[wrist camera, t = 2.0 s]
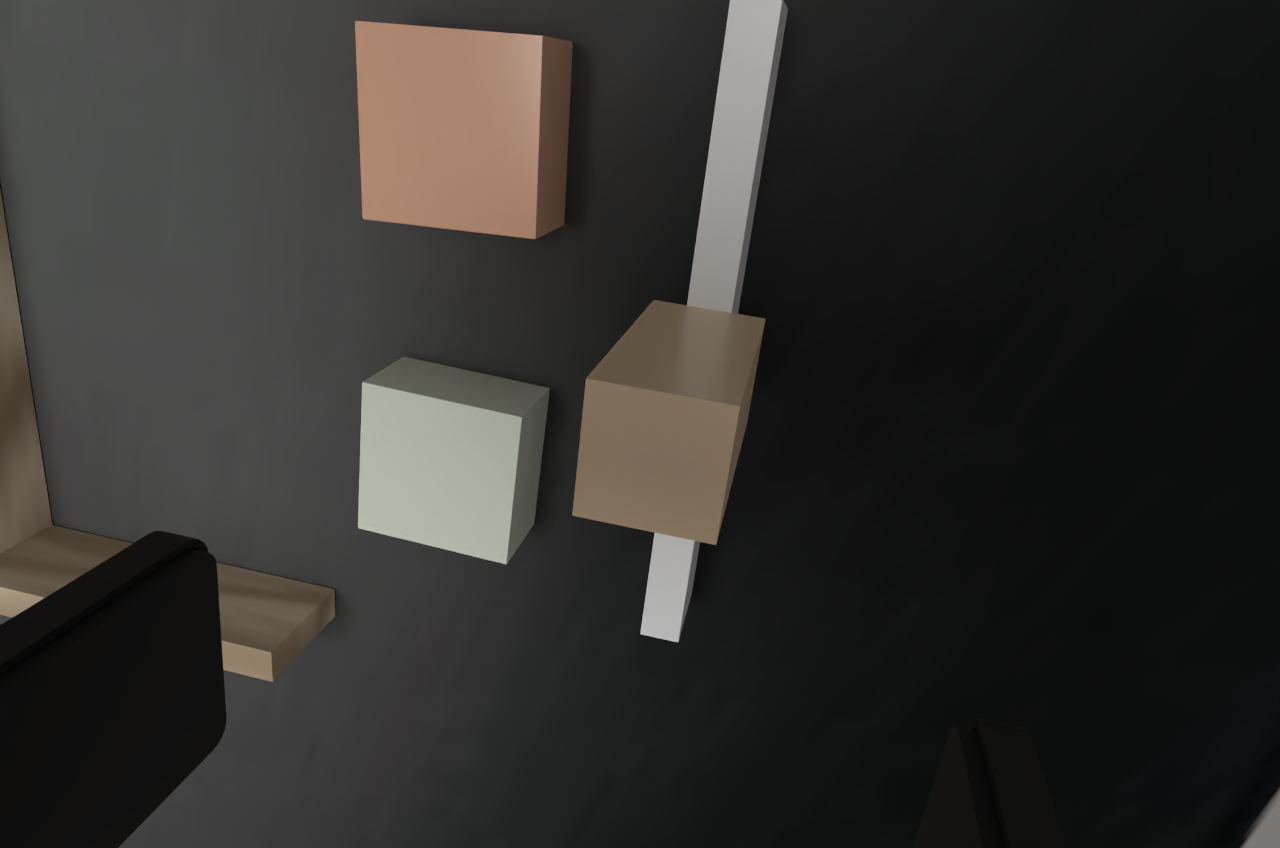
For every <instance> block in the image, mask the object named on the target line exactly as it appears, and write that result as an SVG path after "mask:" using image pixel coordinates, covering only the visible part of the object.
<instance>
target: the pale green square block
mask: <svg viewBox="0 0 1280 848" xmlns="http://www.w3.org/2000/svg"><path fill="white" fill-rule="evenodd" d="M549 392H550V388H547V387H543V386H538V385H533V384H529V383H524V382H520V381H515V380H510V379H506V378H501V377H496V376H492V375H487V374H482V373H478V372H473V371H469V370H464V369H459V368H455V367H450V366H445V365H441V364H436V363H431V362H427V361H422V360H418V359H413V358H408V357H403V358H401V359H399V360H398V361H396V362H394V363H393V364H391V365H389V366H388V367H386V368H385V369H383V370H381V371H380V372H378V373H376V374H375V375H373V376H372V377H370V378H368V379H367V380H365V381H363V382H362V408H361V442H360V476H359V510H358V528H360V529H364V530H368V531H372V532H376V533H380V534H384V535H388V536H392V537H397V538H401V539H405V540H409V541H413V542H417V543H421V544H425V545H429V546H433V547H437V548H441V549H446V550H450V551H454V552H458V553H462V554H466V555H470V556H474V557H478V558H482V559H486V560H490V561H495V562H499V563H503V564H507V563H508V561H509V560H510V558H511V557H512V555H513V554H514V553H515V551H516V550H517V548H518V547H519V545H520V544H521V542H522V541H523V540H524V538H525V537H526V535H527V534H528V532H529V531H530V529H531V528H532V526H533V525H534V520H535V512H536V503H537V495H538V486H539V478H540V469H541V460H542V452H543V443H544V435H545V426H546V418H547V409H548V401H549Z"/></svg>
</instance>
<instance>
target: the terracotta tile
mask: <svg viewBox="0 0 1280 848" xmlns="http://www.w3.org/2000/svg"><path fill="white" fill-rule="evenodd" d="M355 35H356V60H357V86H358V111H359V137H360V163H361V188H362V214H363V219H368V220H376V221H385V222H393V223H402V224H410V225H419V226H427V227H436V228H444V229H453V230H461V231H470V232H478V233H487V234H495V235H504V236H512V237H521V238H529V239H537V238H539V237H541V236H543V235H545V234H547V233H549V232H551V231H553V230H555V229H557V228H559V227H561V226H563V225H564V220H565V199H566V178H567V156H568V135H569V114H570V92H571V71H572V50H573V42H572V41H567V40H562V39H557V38H552V37H547V36H540V35H527V34H515V33H502V32H489V31H477V30H464V29H452V28H439V27H426V26H414V25H401V24H388V23H376V22H363V21H355Z"/></svg>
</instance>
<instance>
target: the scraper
mask: <svg viewBox="0 0 1280 848" xmlns="http://www.w3.org/2000/svg"><path fill="white" fill-rule="evenodd" d="M787 13H788V8H787V6H786V4H785V2H784V0H730V5H729V12H728V19H727V26H726V33H725V40H724V47H723V54H722V61H721V68H720V75H719V82H718V90H717V97H716V104H715V111H714V118H713V125H712V132H711V139H710V146H709V153H708V160H707V167H706V174H705V181H704V188H703V195H702V202H701V209H700V216H699V224H698V231H697V238H696V245H695V252H694V259H693V266H692V273H691V280H690V287H689V294H688V301H687V305H681V304H675V303H669V302H663V301H657V300H653V301H652V303H651V304H650V305H649V306H648V307H647V308H646V310H645V311H644V312H643V313H642V314H641V315H640V316H639V318H638V319H637V320H636V321H635V322H634V323H633V325H632V326H631V327H630V328H629V329H628V330H627V332H626V333H625V334H624V335H623V336H622V337H621V338H620V340H619V341H618V342H617V343H616V344H615V345H614V347H613V348H612V349H611V350H610V351H609V352H608V354H607V355H606V356H605V357H604V358H603V359H602V361H601V362H600V363H599V364H598V365H597V366H596V367H595V369H594V370H593V371H592V372H591V373H590V374H589V376H588V377H587V378H586V384H585V394H584V404H583V414H582V424H581V434H580V444H579V454H578V464H577V474H576V484H575V494H574V504H573V514H572V516H577V517H582V518H587V519H592V520H596V521H601V522H606V523H611V524H616V525H621V526H626V527H630V528H635V529H640V530H645V531H650V532H655V534H654V541H653V548H652V555H651V562H650V569H649V576H648V583H647V590H646V597H645V604H644V611H643V619H642V626H641V633H640V634H642V635H647V636H651V637H656V638H660V639H665V640H669V641H674V642H678V641H679V638H680V634H681V630H682V627H683V623H684V620H685V616H686V613H687V609H688V605H689V602H690V598H691V595H692V589H693V582H694V576H695V570H696V564H697V558H698V552H699V546H700V542H703V543H708V544H713V545H716V544H717V540H718V536H719V532H720V528H721V524H722V520H723V516H724V512H725V508H726V504H727V500H728V496H729V492H730V488H731V485H732V481H733V477H734V473H735V469H736V465H737V461H738V457H739V453H740V449H741V445H742V441H743V437H744V433H745V429H746V425H747V420H748V415H749V409H750V404H751V398H752V392H753V387H754V381H755V375H756V370H757V364H758V359H759V353H760V347H761V342H762V336H763V330H764V325H765V319H766V318H760V317H754V316H748V315H742V314H738V310H739V304H740V298H741V292H742V286H743V280H744V273H745V267H746V261H747V255H748V249H749V243H750V237H751V231H752V225H753V219H754V213H755V207H756V201H757V195H758V189H759V183H760V177H761V170H762V164H763V158H764V152H765V146H766V140H767V134H768V128H769V122H770V116H771V110H772V104H773V98H774V92H775V86H776V80H777V74H778V67H779V61H780V55H781V49H782V43H783V37H784V31H785V25H786V19H787Z"/></svg>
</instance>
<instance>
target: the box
mask: <svg viewBox="0 0 1280 848" xmlns="http://www.w3.org/2000/svg"><path fill="white" fill-rule="evenodd" d="M132 544H133V543H129V542H125V541H120V540H116V539H112V538H107V537H103V536H99V535H94V534H90V533H85V532H81V531H77V530H72V529H68V528H63V527H59V526H55V525H52V519H51V512H50V506H49V499H48V493H47V487H46V480H45V474H44V467H43V461H42V454H41V448H40V441H39V435H38V428H37V422H36V415H35V409H34V403H33V396H32V390H31V383H30V377H29V370H28V364H27V357H26V351H25V344H24V338H23V331H22V325H21V319H20V312H19V306H18V299H17V293H16V286H15V280H14V273H13V267H12V260H11V254H10V247H9V241H8V234H7V228H6V222H5V215H4V209H3V202H2V196H1V189H0V615H4V616H8V617H12V618H13V617H14V616H16V615H18V614H19V613H21V612H22V611H24V610H26V609H27V608H29V607H31V606H32V605H34V604H35V603H37V602H39V601H40V600H42V599H44V598H45V597H47V596H49V595H50V594H52V593H53V592H55V591H57V590H58V589H60V588H62V587H63V586H65V585H66V584H68V583H70V582H71V581H73V580H75V579H76V578H78V577H79V576H81V575H83V574H84V573H86V572H88V571H89V570H91V569H92V568H94V567H96V566H97V565H99V564H101V563H102V562H104V561H106V560H107V559H109V558H110V557H112V556H114V555H115V554H117V553H119V552H120V551H122V550H123V549H125V548H127V547H128V546H130V545H132ZM216 564H217V575H218V591H219V607H220V624H221V640H222V656H223V670H227V671H231V672H235V673H239V674H243V675H247V676H251V677H255V678H259V679H263V680H267V681H271V682H273V681H274V680H275V679H276V678H277V677H278V676H279V675H280V674H281V673H282V672H283V671H284V670H285V668H286V667H287V666H288V665H289V664H290V663H291V662H292V661H293V660H294V659H295V658H296V657H297V656H298V655H299V654H300V653H301V652H302V651H303V650H304V648H305V647H306V646H307V645H308V644H309V643H310V642H311V641H312V640H313V639H314V638H315V637H316V636H317V635H318V634H319V633H320V632H321V631H322V630H323V629H324V627H325V626H326V625H327V624H328V623H329V622H330V621H331V620H332V619H333V618H334V617H335V589H331V588H327V587H322V586H318V585H314V584H309V583H305V582H300V581H296V580H292V579H287V578H283V577H279V576H274V575H270V574H265V573H261V572H257V571H252V570H248V569H243V568H239V567H235V566H230V565H226V564H221V563H217V562H216Z"/></svg>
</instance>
